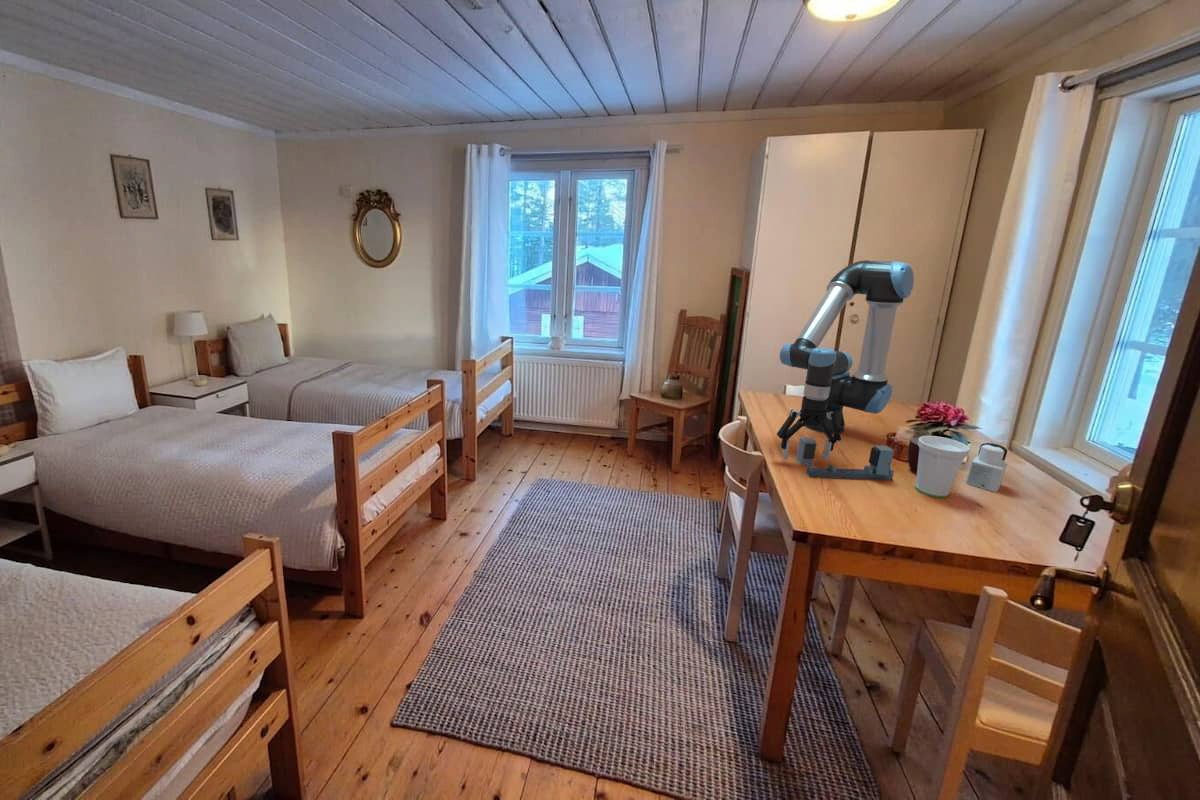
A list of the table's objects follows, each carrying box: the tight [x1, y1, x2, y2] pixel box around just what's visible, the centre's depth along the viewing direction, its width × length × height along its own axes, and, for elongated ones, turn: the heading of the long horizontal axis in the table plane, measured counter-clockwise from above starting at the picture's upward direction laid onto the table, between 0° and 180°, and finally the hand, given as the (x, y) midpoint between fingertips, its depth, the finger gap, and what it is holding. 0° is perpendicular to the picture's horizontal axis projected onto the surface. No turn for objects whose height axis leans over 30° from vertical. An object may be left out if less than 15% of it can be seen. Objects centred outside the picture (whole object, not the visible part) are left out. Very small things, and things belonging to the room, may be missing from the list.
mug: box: [907, 437, 920, 474], centre depth 161 cm, size 11×8×10 cm
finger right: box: [795, 437, 818, 466], centre depth 165 cm, size 4×5×8 cm
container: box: [966, 442, 1008, 493], centre depth 154 cm, size 8×8×13 cm
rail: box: [805, 444, 895, 481], centre depth 156 cm, size 4×26×10 cm, turn 90°
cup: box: [914, 435, 970, 499], centre depth 148 cm, size 12×12×15 cm
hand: (805, 458), depth 166 cm, fingers open, 13 cm apart
